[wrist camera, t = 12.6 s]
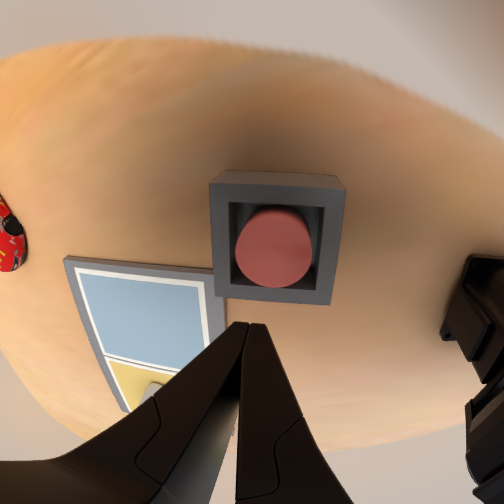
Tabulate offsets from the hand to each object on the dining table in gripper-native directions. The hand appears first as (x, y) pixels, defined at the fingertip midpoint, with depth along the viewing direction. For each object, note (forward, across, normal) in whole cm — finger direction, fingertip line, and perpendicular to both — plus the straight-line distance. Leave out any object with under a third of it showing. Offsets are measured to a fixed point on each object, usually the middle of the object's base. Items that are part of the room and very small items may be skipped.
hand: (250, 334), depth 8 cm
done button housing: (+9, 0, 0) cm, 9 cm away
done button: (+7, 0, 0) cm, 7 cm away
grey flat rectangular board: (+9, +9, +12) cm, 17 cm away
